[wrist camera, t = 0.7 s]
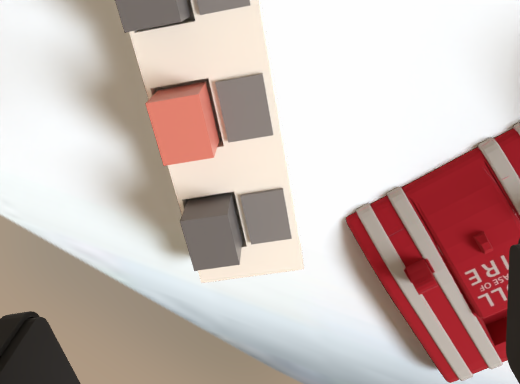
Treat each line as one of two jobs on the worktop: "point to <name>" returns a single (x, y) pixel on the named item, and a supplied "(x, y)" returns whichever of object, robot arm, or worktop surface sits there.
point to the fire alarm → (451, 253)
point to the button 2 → (183, 123)
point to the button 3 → (212, 232)
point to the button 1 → (151, 13)
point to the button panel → (231, 126)
